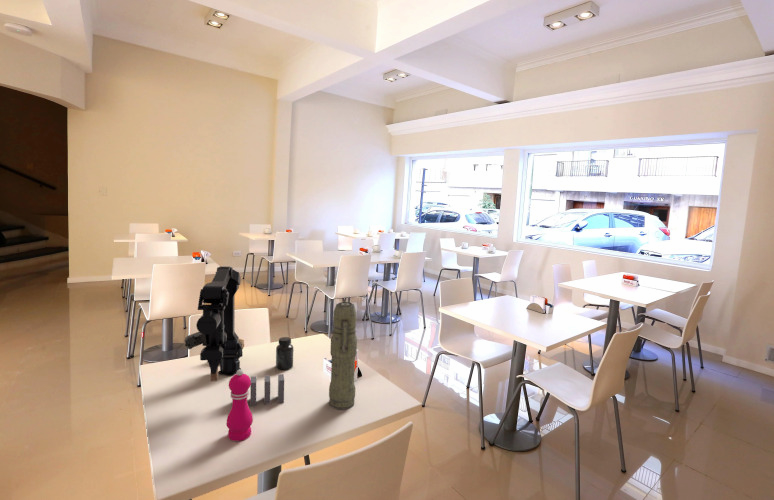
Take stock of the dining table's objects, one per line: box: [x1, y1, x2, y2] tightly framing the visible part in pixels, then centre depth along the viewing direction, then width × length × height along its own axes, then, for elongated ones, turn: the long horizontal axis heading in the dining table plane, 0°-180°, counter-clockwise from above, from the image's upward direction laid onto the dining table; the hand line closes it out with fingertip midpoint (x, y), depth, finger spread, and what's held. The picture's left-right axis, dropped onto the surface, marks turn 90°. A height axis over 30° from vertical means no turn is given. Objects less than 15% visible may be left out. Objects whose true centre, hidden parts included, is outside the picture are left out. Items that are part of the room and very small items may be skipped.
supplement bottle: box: [275, 336, 294, 371], centre depth 167 cm, size 7×7×12 cm
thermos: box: [328, 301, 358, 410], centre depth 139 cm, size 9×12×35 cm
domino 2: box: [249, 375, 257, 407], centre depth 138 cm, size 2×5×8 cm, turn 17°
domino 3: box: [263, 374, 271, 405], centre depth 140 cm, size 2×5×8 cm, turn 17°
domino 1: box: [210, 368, 219, 382], centre depth 133 cm, size 2×5×8 cm, turn 17°
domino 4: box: [277, 373, 285, 404], centre depth 141 cm, size 2×5×8 cm, turn 17°
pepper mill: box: [225, 368, 254, 442], centre depth 118 cm, size 7×7×20 cm
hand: (214, 370), depth 134 cm, fingers closed on domino 1, 5 cm apart
